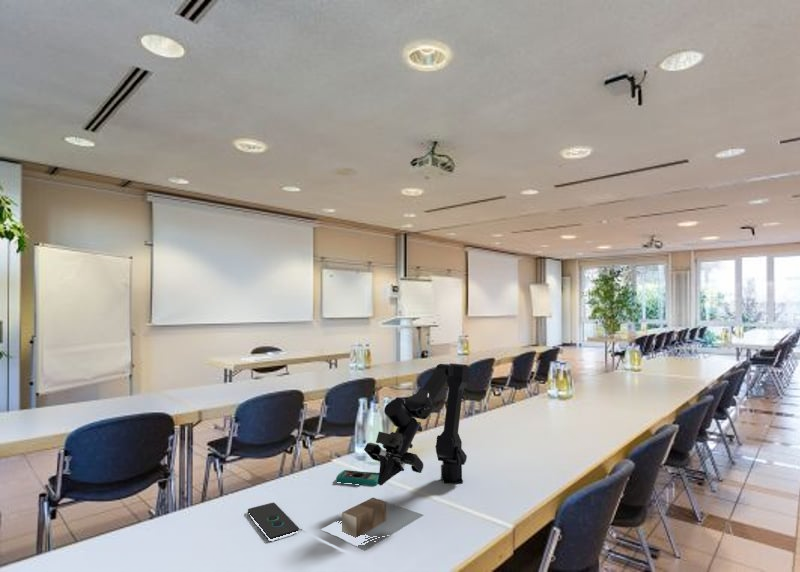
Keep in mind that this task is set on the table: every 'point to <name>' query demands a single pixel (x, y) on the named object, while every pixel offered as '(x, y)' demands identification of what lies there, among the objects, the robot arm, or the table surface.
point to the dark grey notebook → (273, 520)
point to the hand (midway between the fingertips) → (379, 484)
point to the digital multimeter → (358, 477)
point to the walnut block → (363, 517)
